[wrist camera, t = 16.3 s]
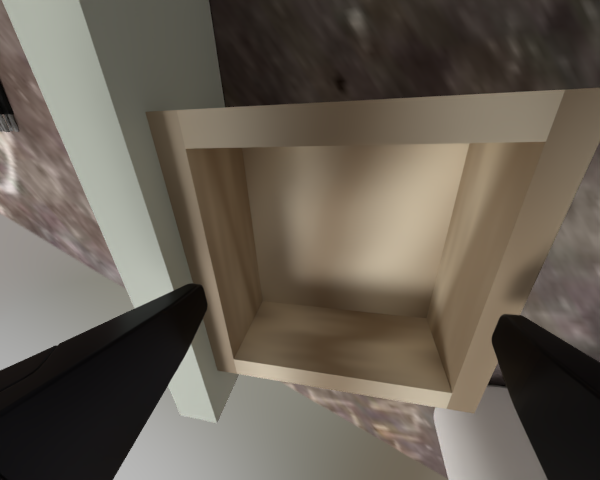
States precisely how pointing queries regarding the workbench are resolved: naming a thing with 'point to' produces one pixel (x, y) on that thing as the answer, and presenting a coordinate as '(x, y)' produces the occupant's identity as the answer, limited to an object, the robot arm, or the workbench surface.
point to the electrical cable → (3, 107)
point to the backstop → (130, 138)
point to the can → (487, 441)
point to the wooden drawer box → (373, 231)
